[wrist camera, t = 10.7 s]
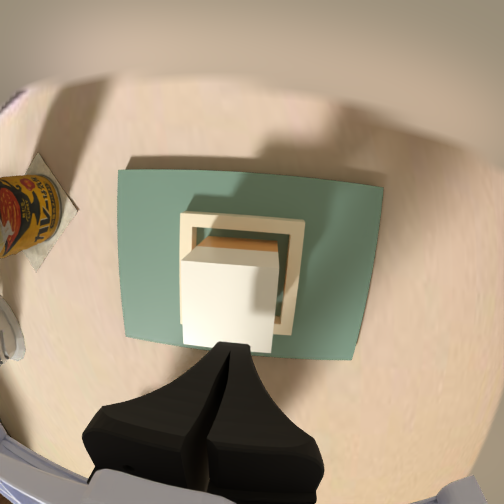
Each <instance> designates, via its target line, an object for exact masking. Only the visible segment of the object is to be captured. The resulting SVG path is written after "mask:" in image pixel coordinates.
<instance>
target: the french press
mask: <svg viewBox="0 0 504 504" xmlns="http://www.w3.org/2000/svg"><path fill="white" fill-rule="evenodd" d="M24 354H25V343H24V337H23V334H22V331H21V328H20V326H19V323H18V321H17V319H16V317H15V315H14V313H13V312H12V310H11V308H10V306H9V305H8V304H7V303H6V301H5V300H4V299H3V298H2V296H1V295H0V360H2V361H0V364H4V363H5V362H6V361H7V360H6V359H12V360H16V361H19V360H21V359H23V358H24ZM0 366H1V365H0Z"/></svg>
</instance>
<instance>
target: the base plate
mask: <svg viewBox="0 0 504 504" xmlns="http://www.w3.org/2000/svg"><path fill="white" fill-rule="evenodd" d="M383 189H384V188H383V187H377V186H370V185H364V184H357V183H349V182H342V181H334V180H325V179H317V178H307V177H297V176H287V175H275V174H263V173H248V172H231V171H209V170H169V169H138V170H118V195H117V229H118V258H119V275H120V288H121V299H122V309H123V318H124V326H125V334H126V337H130V338H135V339H140V340H146V341H151V342H157V343H162V344H168V345H174V346H181V347H187V348H194V349H201V350H209V351H210V350H211V349H212V348H211V347H202V346H195V345H187V344H183V324H182V296H181V260H182V259H183V258H184V257H185V256H186V255H187V254H189V253H190V252H191V251H192V250H193V249H194V248H195V247H196V246H197V245H198V244H200V243H201V242H202V241H203V240H204V239H205V238H206V237H207V236H217V237H231V238H246V239H259V240H273V241H277V244H278V257H279V277H278V288H277V298H276V309H275V319H274V328H273V338H272V347H271V353H262V352H251V355H254V356H265V357H279V358H295V359H316V360H352V357H353V354H354V350H355V346H356V342H357V339H358V335H359V330H360V326H361V322H362V318H363V314H364V309H365V305H366V300H367V295H368V290H369V285H370V280H371V275H372V269H373V263H374V258H375V251H376V245H377V238H378V231H379V224H380V216H381V208H382V199H383Z"/></svg>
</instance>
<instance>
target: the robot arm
mask: <svg viewBox="0 0 504 504" xmlns="http://www.w3.org/2000/svg"><path fill="white" fill-rule="evenodd" d="M250 348H251V347H250V346H249V344H242V343H232V342H222V341H219V342H217V343H216V344H215V345H214V347H213V348H212V349H211V350H210V351H209V352H208V353H207V354H206V355H205V356H204V357H203V358H202V359H201V360H200V361H199V362H197V363H196V364H195V365H194V366H193V367H192V368H190V369H189V370H188V371H187V372H185V373H184V374H183V375H181V376H180V377H179V378H177V379H176V380H174V381H172V382H171V383H169V384H168V385H166V386H164V387H162V388H160V389H157V390H155V391H153V392H151V393H149V394H146V395H144V396H141V397H138V398H135V399H132V400H129V401H125V402H121V403H116V404H111V405H106V406H102V407H101V408H100V410H99V411H98V412H97V413H96V414H95V416H94V417H93V419H92V420H91V421H90V423H89V424H88V426H87V427H86V429H85V430H84V432H83V433H82V440H83V443H84V446H85V448H86V450H87V452H88V454H89V456H90V458H91V459H92V461H93V463H94V465H95V468H94V470H93V472H92V473H91V475H90V477H89V479H88V478H85V477H83V476H81V475H79V474H76V473H74V472H72V471H70V470H68V469H66V468H64V467H62V466H60V465H58V464H56V463H54V462H52V461H50V460H48V459H46V458H44V457H43V456H41V455H39V454H37V453H36V452H34V451H32V450H30V449H29V448H27V447H25V446H24V445H22V444H21V443H19V442H17V441H16V440H14V439H13V438H11V437H10V436H8V435H7V433H6V431H5V429H4V428H3V426H2V425H1V423H0V493H1V494H2V495H3V496H4V497H6V498H7V499H8V500H10V501H11V502H12V503H13V504H315V503H316V500H317V497H316V490H317V488H318V486H319V484H320V482H321V480H322V478H323V475H324V464H323V460H322V457H321V454H320V451H319V448H318V446H317V444H316V441H315V439H314V438H313V437H311V436H310V435H308V434H307V433H306V432H304V431H303V430H301V429H300V428H299V427H297V426H296V425H295V424H294V423H293V422H292V421H291V420H290V419H289V418H288V417H287V416H286V415H285V414H284V413H283V412H282V411H281V410H280V409H279V407H278V406H277V405H276V404H275V402H274V401H273V400H272V398H271V397H270V395H269V394H268V392H267V391H266V389H265V387H264V386H263V384H262V382H261V380H260V378H259V376H258V373H257V371H256V368H255V366H254V363H253V360H252V356H251V350H250ZM410 504H488V503H487V501H486V499H485V497H484V495H483V493H482V491H481V489H480V487H479V485H478V483H477V480H476V478H475V477H474V475H470V476H467V477H465V478H462V479H459V480H457V481H454V482H451V483H449V484H448V485H446V486H445V487H443V488H442V489H441V490H440V491H439V492H438V494H437V495H436V496H434V497H431V498H428V499H424V500H421V501H417V502H414V503H410Z"/></svg>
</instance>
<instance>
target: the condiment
mask: <svg viewBox="0 0 504 504" xmlns="http://www.w3.org/2000/svg"><path fill="white" fill-rule="evenodd" d="M76 213H77V210H76V208H75V207H74V205H73V204H72V202H71V201H70V199H69V198H68V196H67V195H66V193H65V192H64V190H63V189H62V187H61V186H60V184H59V182H58V181H57V180H56V178H55V177H54V175H53V174H52V172H51V171H50V169H49V168H48V166H47V165H46V164H45V162H44V160H43V159H42V157H41V156H40V154H39V152H38V153H37V154H36V156H35V158H34V159H33V161H32V163H31V165H30V166H29V168H28V169H27V171H26V173H25V175H24V176H10V177H1V178H0V259H1V258H6V257H7V256H9V255H11V254H17V253H18V252H19V251H23V253H24V254H25V256H26V258H27V259H28V260H29V262H30V264H31V265H32V267H33V268H34V270H35V271H36V272H37V271H38V269H39V267H40V266H41V264H42V263H43V261H44V259H45V258H46V256H47V255H48V253H49V252H50V250H51V249H52V247H53V246H54V245H55V243H56V242H57V240H58V239H59V237H60V236H61V234H62V233H63V232H64V230H65V229H66V227H67V226H68V225H69V223H70V222H71V220H72V219H73V218H74V216H75V215H76Z"/></svg>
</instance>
